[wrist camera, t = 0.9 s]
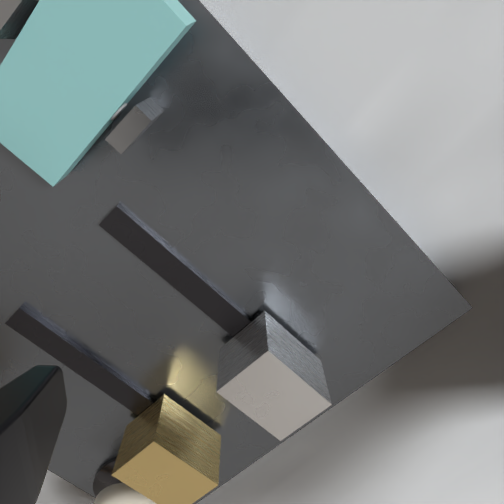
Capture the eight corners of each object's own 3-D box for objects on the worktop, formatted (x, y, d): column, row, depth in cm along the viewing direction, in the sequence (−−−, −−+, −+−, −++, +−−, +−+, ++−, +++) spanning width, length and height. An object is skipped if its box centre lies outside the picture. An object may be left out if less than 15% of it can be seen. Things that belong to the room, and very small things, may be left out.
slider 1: (221, 435, 24) (218, 485, 21) (183, 463, 25) (175, 515, 22) (164, 394, 23) (153, 441, 20) (126, 425, 24) (111, 475, 21)
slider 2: (320, 360, 22) (331, 404, 19) (276, 394, 23) (280, 441, 20) (264, 310, 21) (268, 350, 18) (219, 348, 22) (216, 391, 19)
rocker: (197, 22, 14) (187, 27, 13) (69, 174, 18) (54, 187, 17) (105, -80, 13) (87, -83, 12) (-12, 106, 17) (-32, 115, 16)
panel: (458, 292, 23) (501, 340, 19) (158, 510, 29) (145, 578, 25) (115, -94, 16) (76, -137, 12) (-179, 301, 22) (-264, 352, 19)
